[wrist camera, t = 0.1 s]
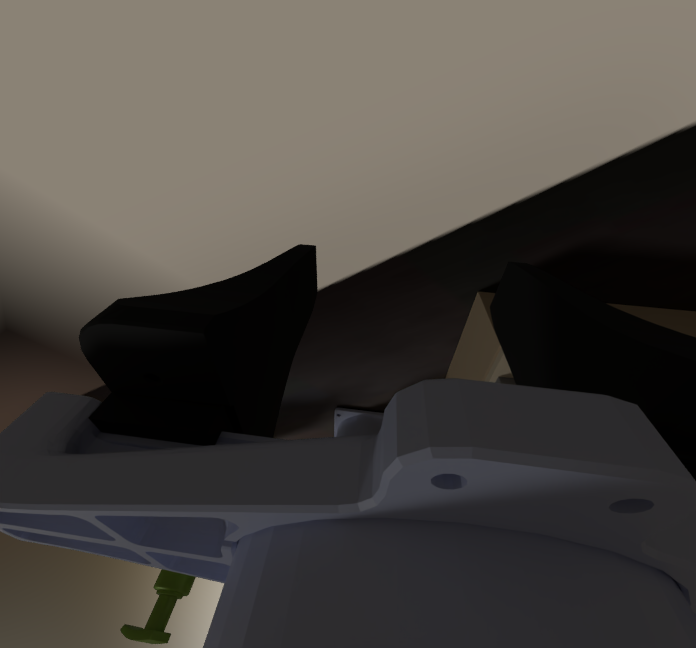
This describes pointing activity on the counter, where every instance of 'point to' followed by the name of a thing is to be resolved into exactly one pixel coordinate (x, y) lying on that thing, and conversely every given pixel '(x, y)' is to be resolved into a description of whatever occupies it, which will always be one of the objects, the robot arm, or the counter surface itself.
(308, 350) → the counter surface
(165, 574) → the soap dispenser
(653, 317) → the carton
